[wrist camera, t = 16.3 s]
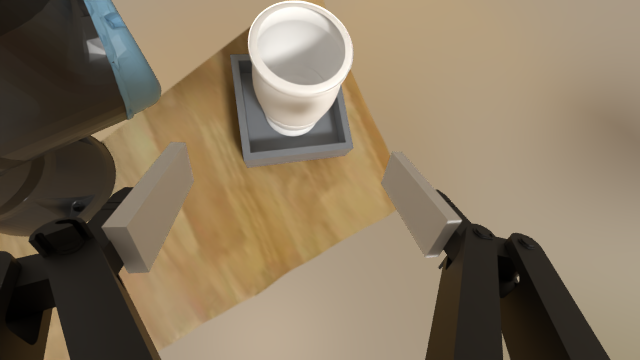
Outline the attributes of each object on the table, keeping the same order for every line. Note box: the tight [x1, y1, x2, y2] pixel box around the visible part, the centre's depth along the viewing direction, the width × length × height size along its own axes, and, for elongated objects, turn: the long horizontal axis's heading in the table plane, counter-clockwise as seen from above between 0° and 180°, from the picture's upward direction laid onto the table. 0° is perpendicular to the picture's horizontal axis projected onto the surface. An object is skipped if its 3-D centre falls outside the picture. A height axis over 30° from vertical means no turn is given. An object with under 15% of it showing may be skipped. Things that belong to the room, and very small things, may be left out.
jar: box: [248, 1, 353, 136], centre depth 30 cm, size 11×10×15 cm
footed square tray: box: [230, 54, 353, 168], centre depth 37 cm, size 16×16×6 cm
